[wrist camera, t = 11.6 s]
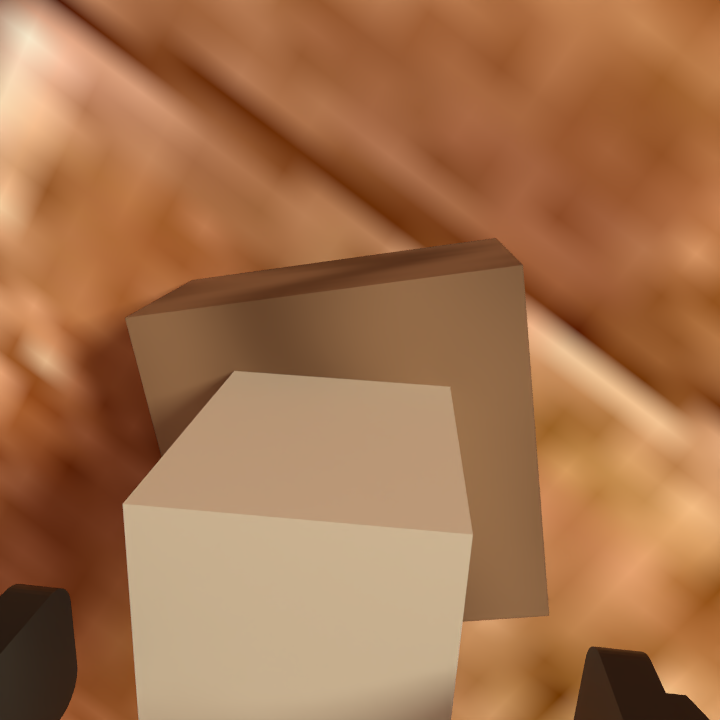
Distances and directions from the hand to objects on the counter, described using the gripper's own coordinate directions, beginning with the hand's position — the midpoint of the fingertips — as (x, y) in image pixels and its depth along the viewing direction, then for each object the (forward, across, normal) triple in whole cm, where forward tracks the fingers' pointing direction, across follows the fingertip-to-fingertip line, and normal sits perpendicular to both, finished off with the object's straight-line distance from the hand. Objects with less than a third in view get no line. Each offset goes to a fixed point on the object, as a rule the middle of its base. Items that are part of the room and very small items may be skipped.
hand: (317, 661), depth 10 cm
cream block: (+6, 0, 0) cm, 6 cm away
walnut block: (+11, 0, 0) cm, 11 cm away
